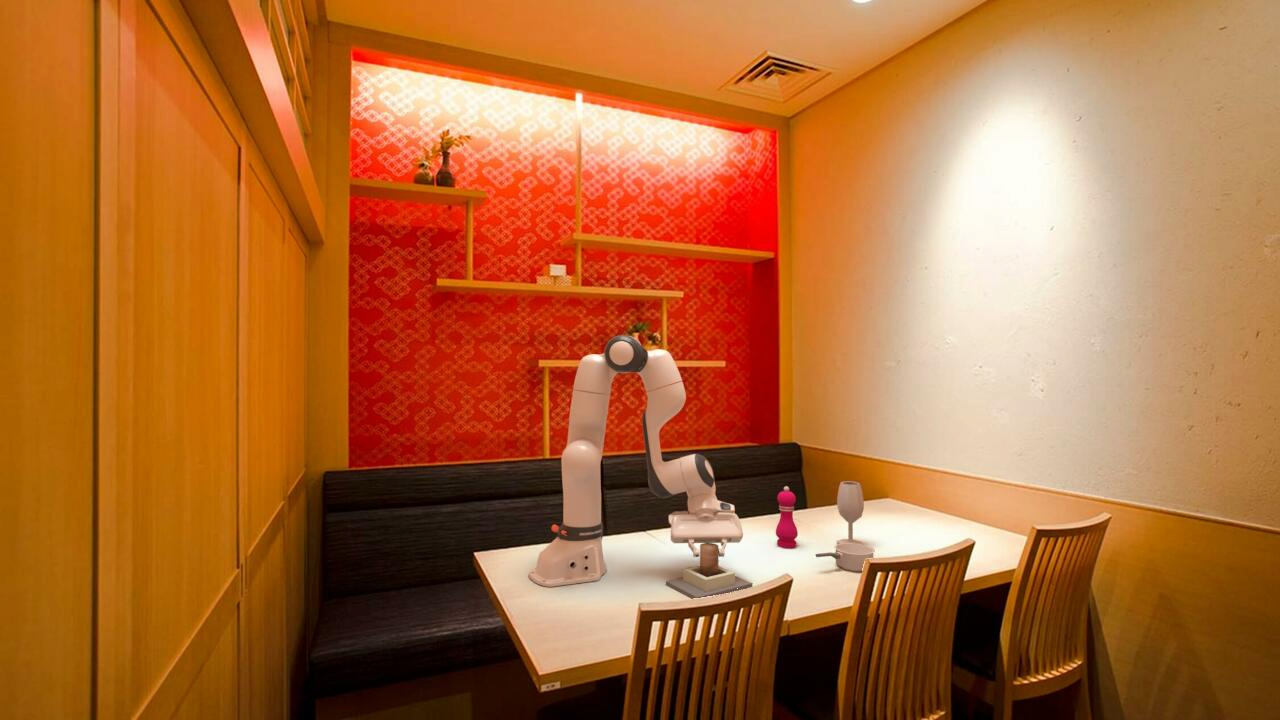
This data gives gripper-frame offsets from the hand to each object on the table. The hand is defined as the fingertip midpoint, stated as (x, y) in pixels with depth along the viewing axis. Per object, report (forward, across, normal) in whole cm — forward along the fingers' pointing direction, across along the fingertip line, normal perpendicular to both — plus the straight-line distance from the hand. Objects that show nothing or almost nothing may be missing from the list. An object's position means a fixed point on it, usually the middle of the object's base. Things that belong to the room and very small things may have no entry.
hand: (709, 555), depth 162 cm
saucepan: (-3, +42, +15) cm, 45 cm away
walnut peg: (+5, 0, +6) cm, 7 cm away
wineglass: (-20, +54, +32) cm, 66 cm away
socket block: (+6, 0, +6) cm, 8 cm away
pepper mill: (-20, +32, +32) cm, 50 cm away
